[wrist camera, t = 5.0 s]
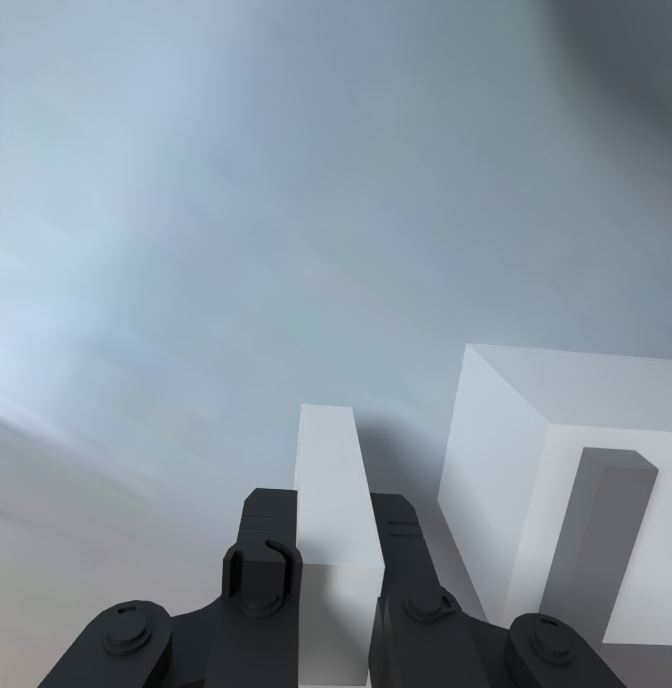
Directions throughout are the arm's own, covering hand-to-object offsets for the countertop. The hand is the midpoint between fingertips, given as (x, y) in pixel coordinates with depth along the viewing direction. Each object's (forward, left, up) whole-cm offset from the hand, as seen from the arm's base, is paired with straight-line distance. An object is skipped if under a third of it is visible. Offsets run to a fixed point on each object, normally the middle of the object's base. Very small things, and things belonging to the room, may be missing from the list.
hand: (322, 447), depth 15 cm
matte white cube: (+8, 0, -2) cm, 9 cm away
